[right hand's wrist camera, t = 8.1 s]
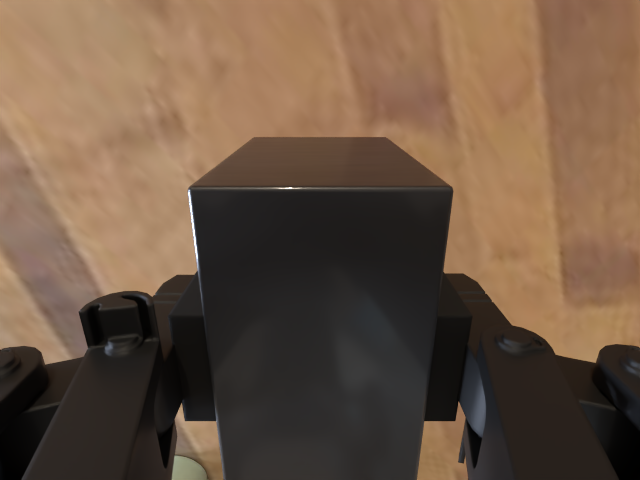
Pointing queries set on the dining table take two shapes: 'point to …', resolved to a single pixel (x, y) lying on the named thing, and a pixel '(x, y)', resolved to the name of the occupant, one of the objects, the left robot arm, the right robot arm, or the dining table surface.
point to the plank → (320, 305)
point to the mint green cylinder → (187, 469)
